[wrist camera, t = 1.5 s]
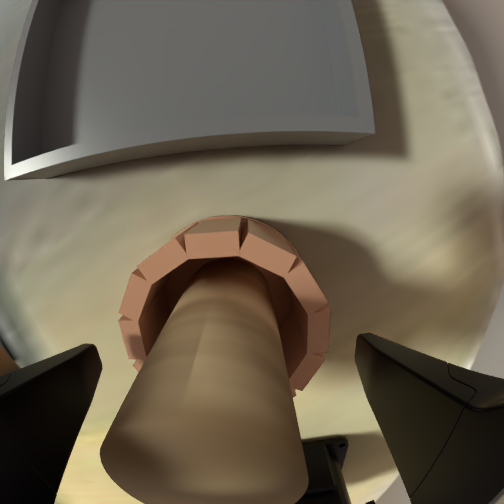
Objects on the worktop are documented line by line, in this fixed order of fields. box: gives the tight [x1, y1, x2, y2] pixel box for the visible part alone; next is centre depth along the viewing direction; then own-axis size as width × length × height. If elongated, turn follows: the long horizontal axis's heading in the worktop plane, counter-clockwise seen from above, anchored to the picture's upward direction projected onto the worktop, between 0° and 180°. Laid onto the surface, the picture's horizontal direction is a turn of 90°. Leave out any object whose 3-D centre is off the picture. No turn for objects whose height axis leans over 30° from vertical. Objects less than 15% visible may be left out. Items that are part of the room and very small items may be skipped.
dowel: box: [100, 258, 309, 504], centre depth 9 cm, size 4×4×10 cm
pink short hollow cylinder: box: [119, 215, 330, 397], centre depth 12 cm, size 8×8×4 cm
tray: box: [4, 0, 375, 180], centre depth 9 cm, size 14×16×4 cm
